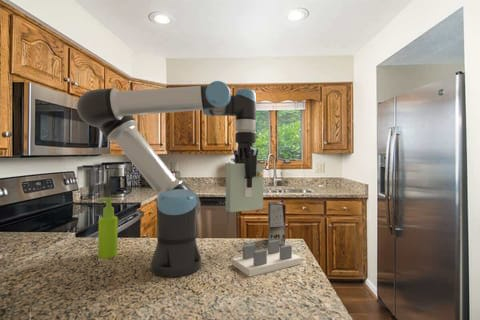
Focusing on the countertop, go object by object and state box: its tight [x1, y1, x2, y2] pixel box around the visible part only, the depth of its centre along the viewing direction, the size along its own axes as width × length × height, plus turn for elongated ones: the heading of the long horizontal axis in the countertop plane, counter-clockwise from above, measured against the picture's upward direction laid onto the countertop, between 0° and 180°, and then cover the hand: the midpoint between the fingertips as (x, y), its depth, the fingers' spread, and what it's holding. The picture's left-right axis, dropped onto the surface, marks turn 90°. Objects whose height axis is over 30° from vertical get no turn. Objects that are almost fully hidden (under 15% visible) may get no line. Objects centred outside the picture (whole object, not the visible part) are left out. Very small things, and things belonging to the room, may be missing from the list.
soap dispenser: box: [96, 197, 119, 260], centre depth 91 cm, size 6×7×20 cm
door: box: [225, 162, 264, 213], centre depth 97 cm, size 14×5×17 cm, turn 121°
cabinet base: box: [231, 240, 302, 278], centre depth 85 cm, size 20×10×6 cm, turn 121°
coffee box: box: [267, 201, 287, 246], centre depth 110 cm, size 9×6×16 cm
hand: (244, 195), depth 98 cm, fingers closed on door, 3 cm apart
